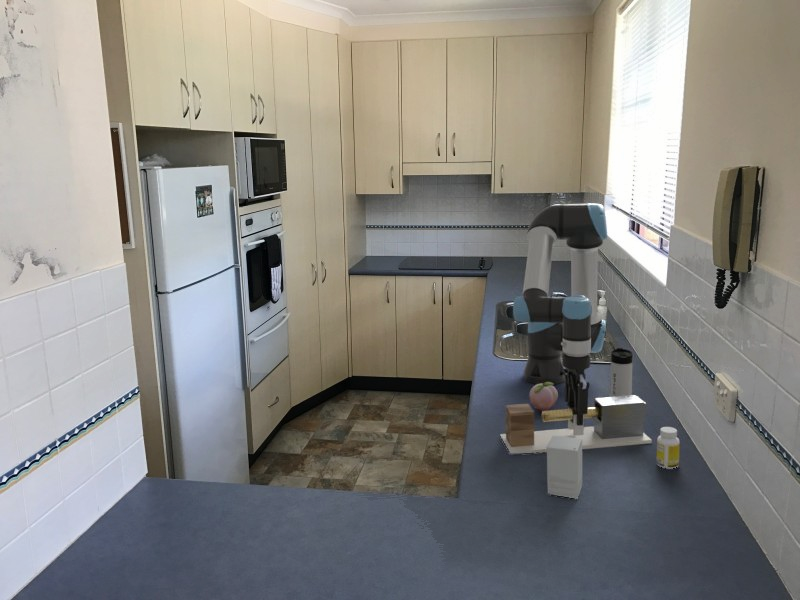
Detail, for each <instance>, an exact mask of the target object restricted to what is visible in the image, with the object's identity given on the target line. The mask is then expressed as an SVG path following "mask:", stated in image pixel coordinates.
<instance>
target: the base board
mask: <svg viewBox="0 0 800 600" xmlns="http://www.w3.org/2000/svg"><path fill="white" fill-rule="evenodd" d="M553 435H554V436H562V437H570V438H579V439H582V450H589V449H590V450H591V449H603V448H612V447H623V446H624V447H626V446H634V445H646V444H648V445H649V444H652V441H653V440H652V439H651V437H649V436H648V435H647V434H646V433H645V432H643V436H634V437H623V438H611V439H601V438H600V437H599V435H598V434H597V433H596V432H595V431H594V425H593V426H584V435H578V436H574V435H573V429H572V430H569V429H568V428H559V429H545V430H536V431H535V430H534V445H530V446H519V447H511V446H510V444H509V442H508V441H507V439H506V433H500V434H499V437H500V436H501V438H502V439H503V441H504V443H505V444H506V446H507V448H508V449H509V451H510V453H532V452H533V453H534V454H537V453H536V452H539V453H538V454H543V452H545V453H547V446H548V444H549V442H550V441H551V439H552V437H553ZM501 438H500V439H501ZM503 441H502V442H503ZM504 443H503V444H504ZM507 448H506V449H507ZM510 453H509V454H510Z"/></svg>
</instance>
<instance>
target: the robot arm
mask: <svg viewBox="0 0 800 600" xmlns="http://www.w3.org/2000/svg"><path fill="white" fill-rule="evenodd" d="M605 211H606V210H605V207H604V205H602V204H600V203H590V202H587V203H565V204H564V203H563V204H560V203H558V204H552V205H550V206H547V207H545V208H544V209H542V210H541V211H540V212H539V213H538V214H536V216H535V217H533V219H532V221H531V222H530V224H529V226H528V228H527V232H526V233H527V235H526V240H527V242H528V250H527V255H526V257H527V258H526V267H525V272H524V280H523V288H522V295H520V296H515V298H514V300H513V306H512V307H513V308H512V309H513V310H512V311H513V312H512V313H513V318H514V320H515V321H517V322H518V323H519V322H520V323H528V325H527V336H528V338H527V344H528V346H527V351H528V356H527V360H526V364H525V366H524V369H523V380H525V381H526V380H527V381H526V382H528V381H529V383H531V382H532V383H531V384H535V385H537V384H541V383H543V381H544V383H545V382H551V383H553V384H554V385H556V384H561V383H564V402H566V403H567V404H566V405H567V409H569V405H575V412H572V414H573V423H572V422H571V421H570V420H567V429H569V430H572V429H573V435H574V436H578V435H584V427H585V426H584V425H585V422H584V421H585V419H584V414H587V409H588V405H589V389H590V382H589V381H586V380H587V379H586V374H585V371H586V370H587V369H589V368H590V367H591V354H594V353H600V352H601V351H602V350H603V345H604V342H605V335H606V333H605V332H606V326H607V325H606V324H607V322H606V320H605V319H602V318H603V317H602V314H601V313H599V312H598V274H599V273H598V272H599V271H598V269H599V268H598V258H599V255H598V253H599V252H598V251H599V249H600V248H601V247H602V246H603V243H604V240H607V239H608V229H607V228H608V227H607V219H606V218H607V217H606V213H605ZM558 240H563V241H565V242H566V246H567V247H568V248H569V249H570V254H571V255H570V260H571V261H570V263H571V265H570V267H571V268H570V270H571V272H570V273H571V274H570V275H571V276H570V278H571V293H570V294H571V296H566V297H565V296H563V297H562V296H549V290H550V279H551V270H552V258H553V248H554V246H555V244H556V243H557V241H558ZM590 353H591V354H590Z"/></svg>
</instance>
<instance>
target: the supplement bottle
mask: <svg viewBox="0 0 800 600" xmlns="http://www.w3.org/2000/svg"><path fill="white" fill-rule="evenodd" d="M659 433H660V435H658V437H657V440H656V465H657V466H658V467H659V468H661V467H662V469H665V468H666V469H665V470H674V469H673V468H675V469H677V468H678V467H679V466H680V444H681V443H680V438H678V437H677V436H678V430H677V429H676V428H675V427H672V426H663V427H661V428H660V429H659ZM676 467H677V468H676Z"/></svg>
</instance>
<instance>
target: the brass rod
mask: <svg viewBox="0 0 800 600" xmlns="http://www.w3.org/2000/svg"><path fill="white" fill-rule="evenodd" d="M572 412H575V405H569V409H568V408H565V409H553V410H552V409H551V410H546V411H542V410H541V420H542V422H543V423H546V422H559V421H560V422H561V421H568V420H570V421H571V422H572V423H573V414H572ZM597 417H601V407H600V406H599V407H594V406H591V407H588V409H587V414H584V420H585V419H594V418H597Z"/></svg>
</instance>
